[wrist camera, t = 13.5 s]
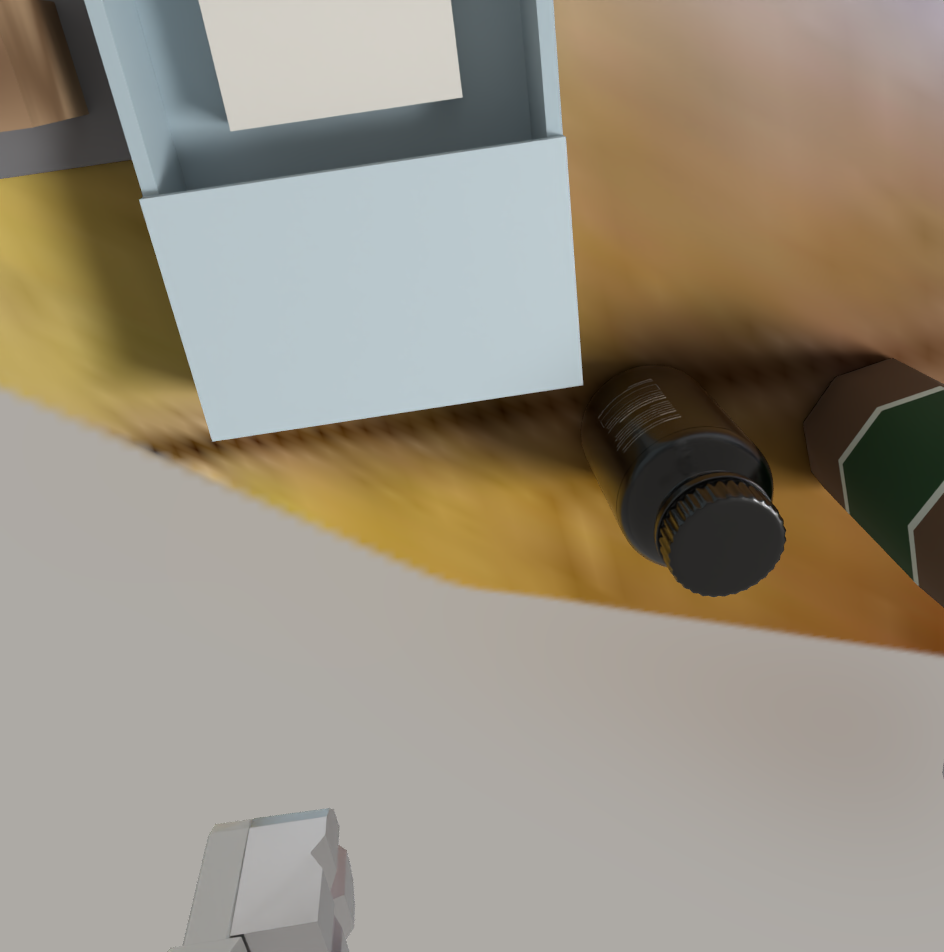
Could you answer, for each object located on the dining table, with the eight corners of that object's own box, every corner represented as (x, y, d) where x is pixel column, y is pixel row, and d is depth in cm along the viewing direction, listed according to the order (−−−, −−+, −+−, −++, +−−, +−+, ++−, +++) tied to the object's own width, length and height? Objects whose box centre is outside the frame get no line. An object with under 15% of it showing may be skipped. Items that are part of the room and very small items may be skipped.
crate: (95, -101, 31) (39, -128, 26) (518, -162, 32) (542, -199, 27) (234, 392, 41) (212, 441, 36) (559, 343, 41) (583, 385, 36)
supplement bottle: (577, 486, 45) (634, 625, 34) (579, 365, 42) (643, 477, 31) (703, 476, 45) (799, 611, 34) (714, 355, 42) (824, 462, 31)
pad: (-120, -38, 32) (-129, -39, 31) (91, -68, 32) (86, -70, 31) (-34, 182, 35) (-40, 184, 35) (155, 155, 35) (151, 156, 35)
